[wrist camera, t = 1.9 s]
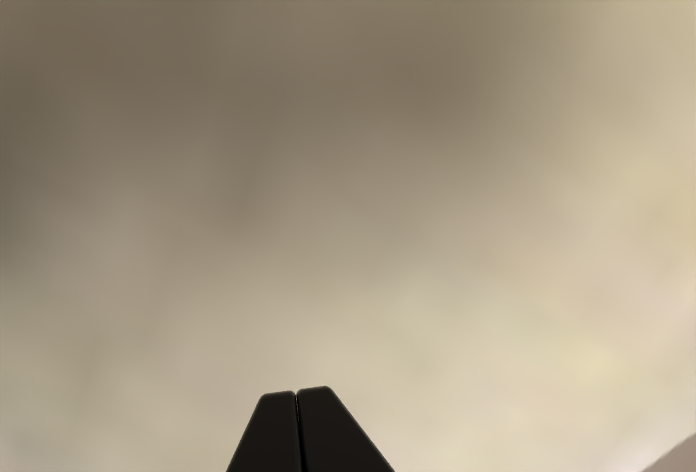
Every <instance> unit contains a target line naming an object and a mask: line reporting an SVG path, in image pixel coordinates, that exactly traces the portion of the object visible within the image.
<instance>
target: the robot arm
mask: <svg viewBox="0 0 696 472" xmlns="http://www.w3.org/2000/svg"><path fill="white" fill-rule="evenodd" d="M296 398H297V401H296ZM297 408H298V410H297ZM298 418H299V420H298ZM299 428H300V429H299ZM226 472H395V471H394V469H393V468H392V467H391V466H390V464H389V463H388V462H387V460H386V459H385V458H384V456H383V455H382V454H381V453H380V451H379V450H378V449H377V447H376V446H375V445H374V443H373V442H372V441H371V440H370V438H369V437H368V436H367V434H366V433H365V432H364V430H363V429H362V428H361V427H360V425H359V424H358V423H357V421H356V420H355V419H354V417H353V416H352V415H351V414H350V412H349V411H348V410H347V408H346V407H345V406H344V404H343V403H342V402H341V401H340V399H339V398H338V397H337V395H336V394H335V393H334V391H333V390H332V389H331V388H330V387H327V386H321V387H313V388H305V389H300V390H299V391H298V392H297V394H296V395H295V393H294V392H293V391H282V392H275V393H267V394H264V395H263V396H261V398H260V399H259V401H258V403H257V405H256V408H255V410H254V412H253V414H252V416H251V418H250V421H249V423H248V425H247V427H246V429H245V431H244V434H243V436H242V438H241V440H240V442H239V444H238V447H237V449H236V451H235V453H234V455H233V457H232V460H231V462H230V464H229V466H228V468H227V470H226Z"/></svg>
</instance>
